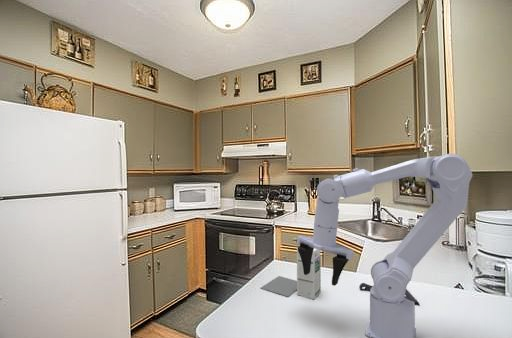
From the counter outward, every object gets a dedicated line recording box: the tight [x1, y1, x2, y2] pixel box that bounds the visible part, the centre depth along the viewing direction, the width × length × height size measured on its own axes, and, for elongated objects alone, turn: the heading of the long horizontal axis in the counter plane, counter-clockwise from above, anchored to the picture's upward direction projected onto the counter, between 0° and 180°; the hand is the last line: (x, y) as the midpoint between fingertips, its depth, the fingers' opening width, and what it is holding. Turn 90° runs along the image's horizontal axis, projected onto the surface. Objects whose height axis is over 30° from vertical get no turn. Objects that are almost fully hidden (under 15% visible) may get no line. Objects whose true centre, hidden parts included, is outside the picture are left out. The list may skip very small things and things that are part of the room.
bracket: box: [358, 282, 421, 307], centre depth 83 cm, size 14×15×3 cm
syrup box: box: [296, 247, 322, 300], centre depth 81 cm, size 6×6×14 cm
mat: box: [260, 275, 297, 298], centre depth 86 cm, size 10×12×1 cm
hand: (320, 278), depth 66 cm, fingers open, 7 cm apart
